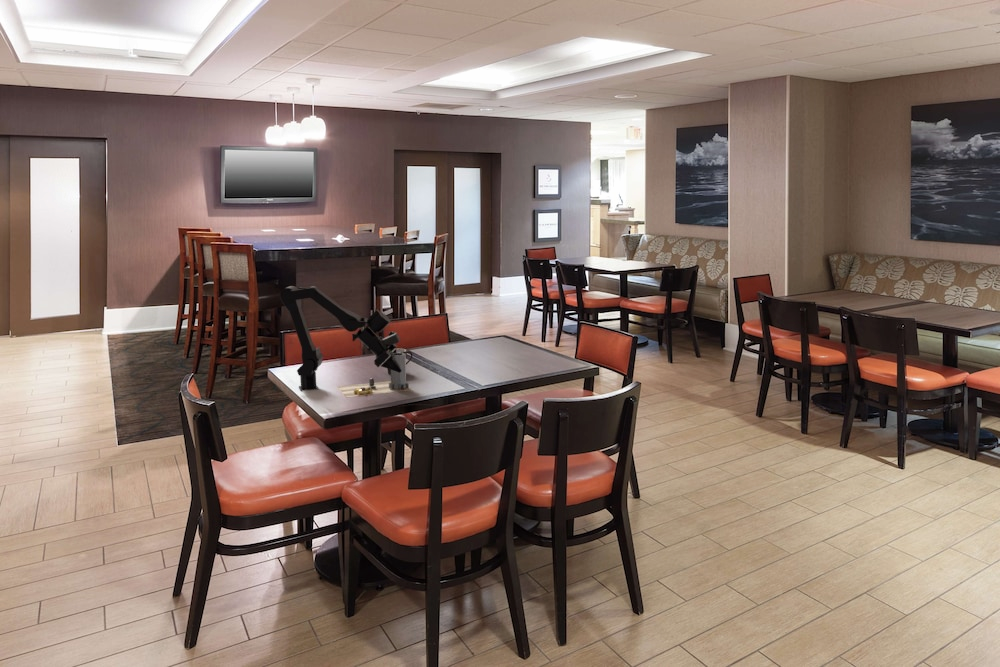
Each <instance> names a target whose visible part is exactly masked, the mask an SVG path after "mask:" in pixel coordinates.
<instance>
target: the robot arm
mask: <svg viewBox="0 0 1000 667" xmlns="http://www.w3.org/2000/svg"><path fill="white" fill-rule="evenodd" d="M279 298H280V301H281V302H282V304H283V306H284V307H285V308H286V310H287V311H288V312H289V315H290V317H291V320H292V324H293V327H294V329H295V332H296V335H297V338H298V341H299V344H300V348H301V362H302V365H301V366H300V367H299V368H298V369H297V370H296V372H297V374H298V376H299V377H300V385H299V386H298V388H299V389H300V391H301V392H303V391H309V390H317V389H319V386H318V385H317V373H316V371H318V368H319V367H320V366H321V365H322V363H323V358H324V355H323V354H322V351H321V347H320V346H318V347H316V346H315V344H314V341H313V339H312V337H311V333H310V331H309V328H308V324H307V322H306V318H305V315H304V313H303V310H302V300H303V299H312V300H313V301H314V302H315V303H317V304H318V305H320V307H322V308H324V310H326V311H327V312H328V313H330V314H331V315H332V316H334V317H335V318H336V319H337V321H338V322H339V324H340V325H341V326H342V327H343V328H344V329H345V330H346V331H347V332H350V333H352V332H353V333H352V334H351V335H352V342H355V341H356V340H357V339H358V340H359V341H360V343H362V344H363V345H364V346H366V348H367V350H368V352H370V351H371V353H372V354H374V355H375V359H374V360H373V361H374V362H373V364H374V365H375V367H377V368H379V367H381V368H385V369H387V368H388V369H391V370H394V371H396V372H399V373H400V372H401V371H402V370H401V369H400V367H399V366H398V365H397V364H396V362H395V361H394V360H393V354H392V353H397V347H398V345H397V344H398V343H400V341H401V339H400V335H399V334H398V332H395V331H393V330H392V331H389V333H388V336H386V337H382V336H379V335H377V334H376V333H377V332H378V333H381V332H383V330H384V329H385V328H386V327H387V326H388V325H389V324H390V323H391V319H390V317H388V316H387V314H384V312H382V311H380V310H379V309H376V310H374V312H373V313H372V315H371V316H370V317H369V318H368V317H361V316H360V315H359V314H358V313H356V312H353V311H351V310H349V309H347V308H344V307H342V306H341V305H339V303H337V302H336V301H335V300H333V299H332V298H331V297H329V296H328V295H327V294H325V293H324V292H323V291H322V290H320V288H319V287H317V286H314V285H313V286H306V287H305V286H304V287H302V286H301V287H297V286H295V285H294V286H293V285H290V286H287V287H285V288H283V289H282V290H281V291H280V293H279ZM366 325H367V326H366ZM364 327H365V328H364ZM358 329H359V330H358ZM357 330H358V331H357ZM355 331H356V332H355ZM395 348H396V349H395ZM394 349H395V350H394ZM391 354H392V355H391ZM388 369H387V370H388Z"/></svg>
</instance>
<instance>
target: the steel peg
mask: <svg viewBox="0 0 1000 667" xmlns="http://www.w3.org/2000/svg"><path fill="white" fill-rule="evenodd" d="M368 383H369V387H368V388H370V389H371V388H372V389H373V388H376V386H374V383H375V379H374V378H373V377H371V378H369V381H368Z"/></svg>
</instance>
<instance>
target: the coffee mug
mask: <svg viewBox="0 0 1000 667" xmlns="http://www.w3.org/2000/svg"><path fill="white" fill-rule="evenodd" d="M396 348H397V347H396ZM396 348H395V349H396ZM395 349H394V350H395ZM397 353H405V354H406V355H407V354H410V358H409V359H408V360H406V361H407V362H406V365H408V363H410V362H411V360H412V359H413V353H412V352H411V351H407V349H406V348H397ZM386 369H387V374H388V375H389V376H391V369H388V368H386Z"/></svg>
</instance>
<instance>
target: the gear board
mask: <svg viewBox="0 0 1000 667" xmlns="http://www.w3.org/2000/svg"><path fill="white" fill-rule="evenodd" d="M389 383H391V380H389V381H388V380H387V381H377V382H374V386H376V388H373V389H372V393H371V394H367V395H366V396H372V395H380V394H390V393H400V392H408V391H413V388H412V387H410V386H409V388H406V390H399V391H398V390H394V389H393V390H390V388H389ZM361 387H362V388H363V387H364V388H366V387H369V382H368V383H360V384H359V383H358V384H351V385H341V386H337V388H338V389H339V391H340V392H341V393H342V395H343V396H344V397H345V398H354V397H361V396H364V397H365V395H357V394H354V390H355V389H358V388H361ZM369 389H370V388H369Z"/></svg>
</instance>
